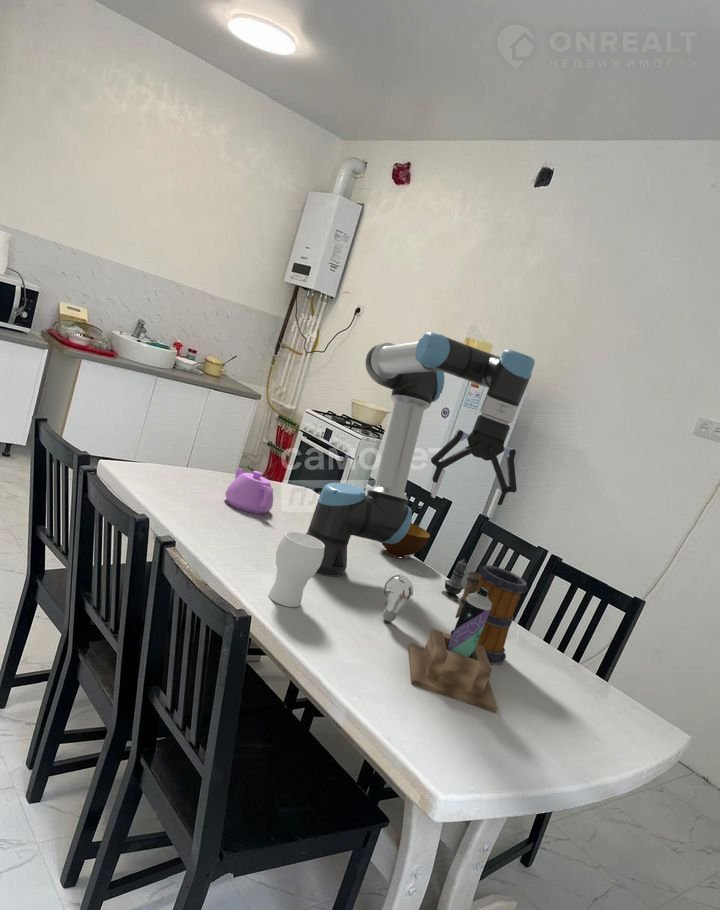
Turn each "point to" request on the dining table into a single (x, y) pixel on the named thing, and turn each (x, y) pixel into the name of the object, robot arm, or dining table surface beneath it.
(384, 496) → the robot arm
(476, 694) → the socket block
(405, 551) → the bowl
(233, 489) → the teapot
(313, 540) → the cup
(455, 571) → the dark grey chess piece
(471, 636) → the spray can
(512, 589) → the mug
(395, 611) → the light bulb
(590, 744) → the dining table surface
